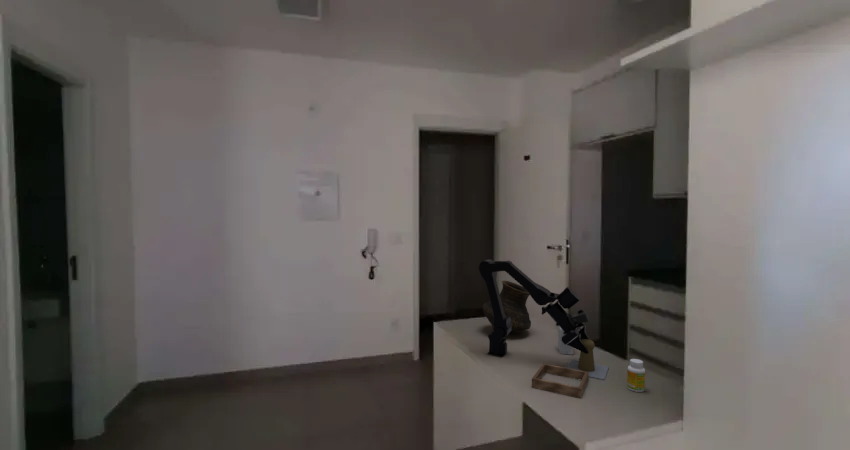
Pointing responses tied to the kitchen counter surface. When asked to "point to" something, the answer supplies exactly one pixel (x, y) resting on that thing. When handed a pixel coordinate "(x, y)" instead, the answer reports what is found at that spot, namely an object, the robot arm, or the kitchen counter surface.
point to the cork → (587, 357)
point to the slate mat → (598, 373)
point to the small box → (561, 346)
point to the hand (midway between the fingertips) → (589, 349)
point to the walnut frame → (559, 387)
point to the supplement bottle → (636, 376)
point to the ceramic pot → (512, 306)
